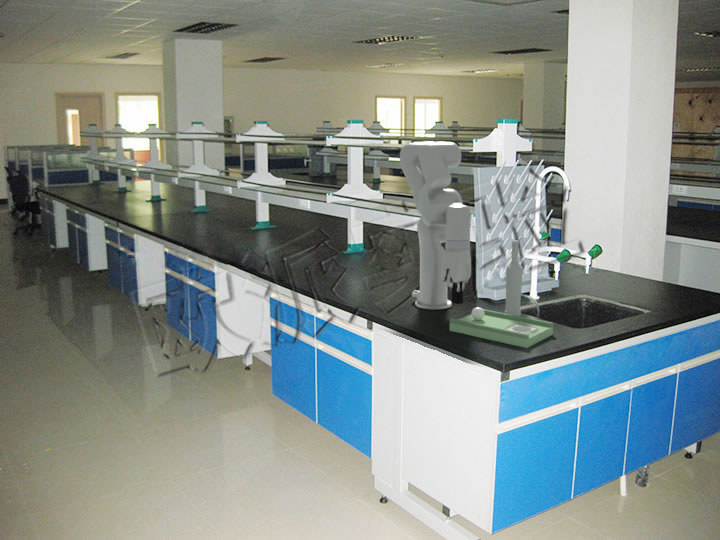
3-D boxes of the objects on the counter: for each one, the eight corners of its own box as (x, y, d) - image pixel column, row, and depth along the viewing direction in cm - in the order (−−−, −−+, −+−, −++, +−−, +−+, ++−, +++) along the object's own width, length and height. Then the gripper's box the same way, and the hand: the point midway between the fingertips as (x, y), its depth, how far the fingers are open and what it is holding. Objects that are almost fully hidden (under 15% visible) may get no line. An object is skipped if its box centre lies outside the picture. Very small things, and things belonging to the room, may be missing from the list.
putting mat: (449, 330, 211) (449, 318, 210) (477, 319, 223) (477, 308, 222) (526, 348, 194) (527, 335, 194) (552, 334, 206) (553, 322, 205)
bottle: (518, 314, 228) (521, 239, 223) (522, 318, 223) (525, 242, 218) (502, 314, 228) (505, 239, 223) (506, 318, 223) (509, 242, 218)
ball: (468, 320, 213) (469, 307, 212) (475, 317, 216) (476, 305, 215) (480, 322, 211) (480, 309, 210) (486, 319, 213) (487, 307, 213)
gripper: (460, 241, 221) (460, 297, 225) (433, 247, 210) (433, 305, 214) (481, 243, 217) (480, 300, 220) (454, 249, 206) (453, 309, 209)
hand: (457, 303), depth 217 cm, fingers closed
